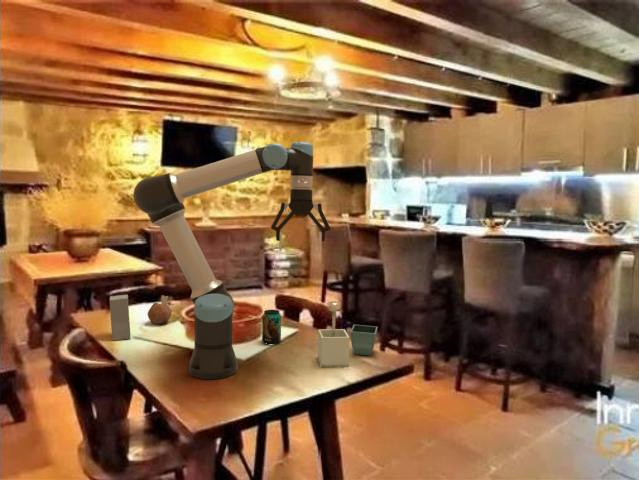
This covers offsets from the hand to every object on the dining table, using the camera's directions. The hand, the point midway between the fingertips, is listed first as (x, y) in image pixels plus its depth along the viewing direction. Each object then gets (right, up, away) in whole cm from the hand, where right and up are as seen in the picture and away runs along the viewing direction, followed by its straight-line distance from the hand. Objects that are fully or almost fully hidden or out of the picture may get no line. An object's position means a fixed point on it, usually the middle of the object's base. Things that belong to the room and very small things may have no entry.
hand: (300, 250), depth 165 cm
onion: (-61, -32, +36) cm, 77 cm away
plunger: (+11, -36, -4) cm, 38 cm away
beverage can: (-12, -35, +16) cm, 40 cm away
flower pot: (+22, -37, +6) cm, 44 cm away
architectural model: (-65, -30, +58) cm, 92 cm away
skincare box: (-69, -34, +17) cm, 79 cm away
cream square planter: (+11, -38, -4) cm, 39 cm away
